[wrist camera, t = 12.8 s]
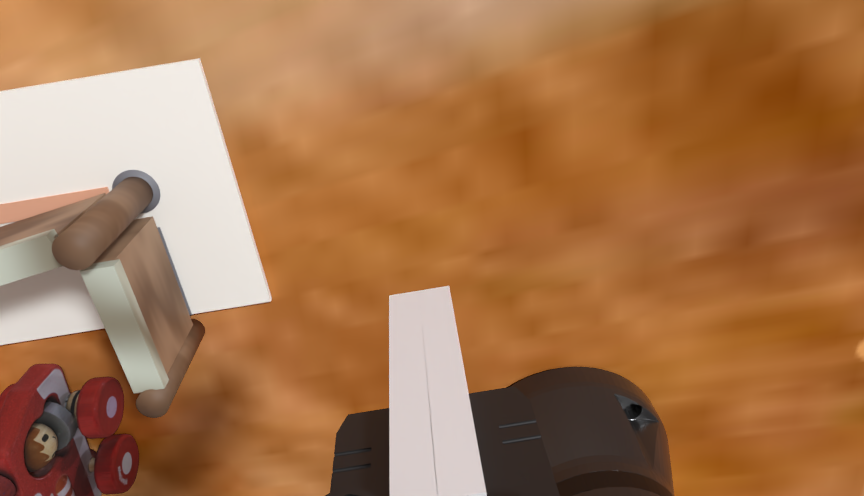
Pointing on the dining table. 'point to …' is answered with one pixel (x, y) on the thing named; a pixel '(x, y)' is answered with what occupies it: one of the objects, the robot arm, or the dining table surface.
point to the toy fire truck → (63, 437)
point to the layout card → (108, 166)
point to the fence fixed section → (134, 292)
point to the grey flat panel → (36, 240)
